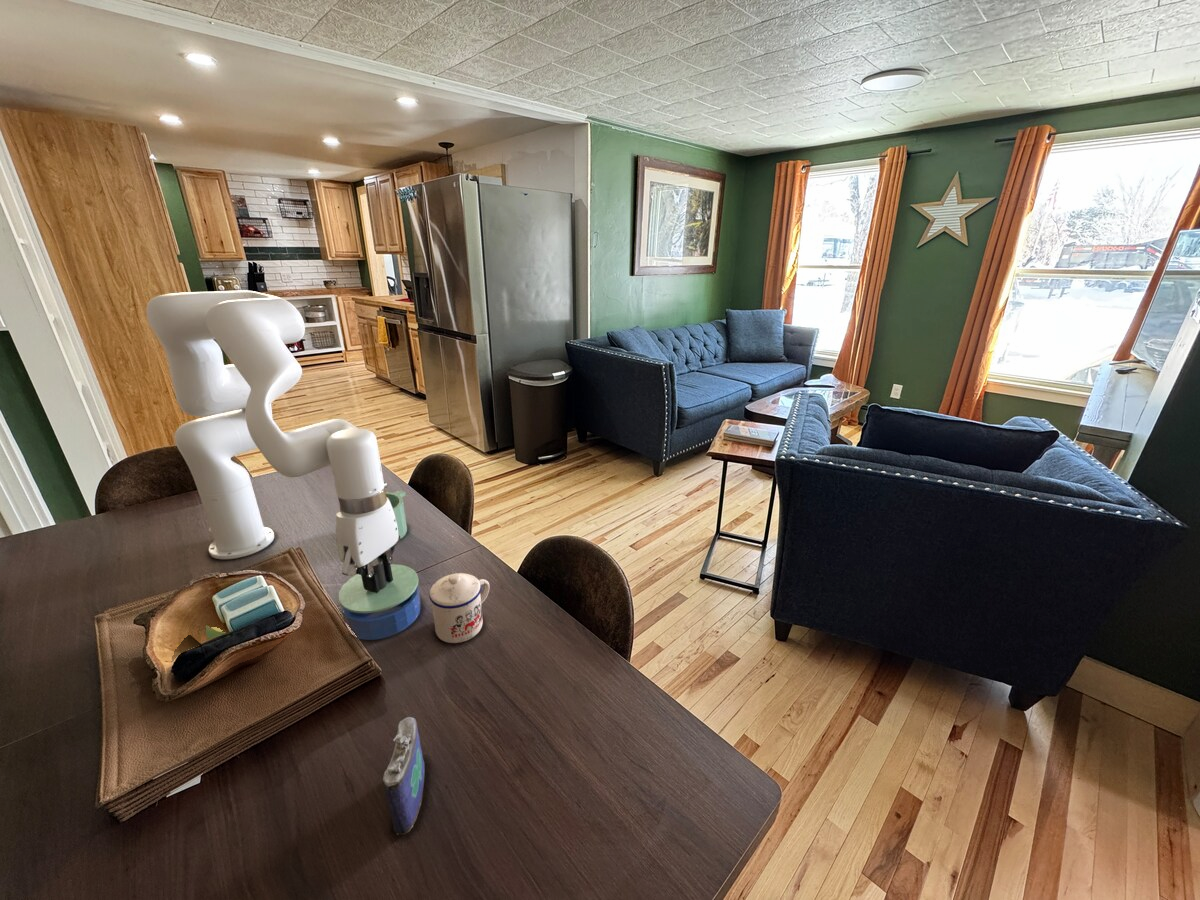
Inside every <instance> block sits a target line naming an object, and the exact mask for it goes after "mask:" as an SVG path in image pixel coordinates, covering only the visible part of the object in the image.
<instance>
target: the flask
mask: <svg viewBox="0 0 1200 900" xmlns="http://www.w3.org/2000/svg"><path fill="white" fill-rule="evenodd" d="M418 729H419V728H418V722H417V720H416V718H414V717H412V716H407V717H405V718H403V719H402V720H400V721H399V722H398V725H397V726H396V735H395V736H394V738H393V739H392V741H393V742H395V743H394V747H393V752H392V755H391V758H390V761H389V764H388V765H387V767H386V769H385V770H384V774H383V775H382V787H383V791H384V795H385V797H386V801H387V806H388V809H389V813H390V815H391V816H390V817H391V821H392V825H393V830H394V832H395V833H396V836H398V835H406V834H408V833H409V832H410V831H411V829H413V828H414V825H415V822H416V821H417V818H418V815H419V812H420V809H421V805H422V803H423V802H422V801H423V797H424V787H425V786H424V785H425V779H426V778H425V777H426V774H425V773H426V770H425V768H426V767H425V761H424V757H423V751H422V745H421V740H420V734H419V730H418Z"/></svg>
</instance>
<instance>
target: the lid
mask: <svg viewBox="0 0 1200 900" xmlns="http://www.w3.org/2000/svg"><path fill="white" fill-rule="evenodd" d="M372 563H373V571H374V573H375V574H377V577H378V582H379V588H380V591H379V592H378V593H374V592H371V591H368V590H365V589H364V587H363V582H362V577H361V575H359V574H356V575H353V576H351V577H350V578H349V579H348V580H347V581H346V582H344V583H343V584H342V586H341V588H340V590H339V592H338V602H339V605H340V607H341V606H342V607H343V608H345V609H346V610H348V611H351V612H354V613H375V612H380V611H383V610H387V609H389V608H392V607H394V606H396V605H398V604H400V603H402V602H403V601H405V600H406V599H407V598H409V597H410V596H411V595H412V594H413V593H414V591H415V590H416V588H417V586H418V585H419V576H418V574H417V572H416V571H415V570H414V569H413V568H411V567H410V566H407V565H403V564H398V563H397V564H395V563H394V564H393V563H392V564H391V563H390V565H391V570H392V576H393V581H392V582H386V577H385V571H384V566H383V560H382V559H381V558H375V559H374V560H372ZM418 587H419V586H418Z"/></svg>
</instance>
